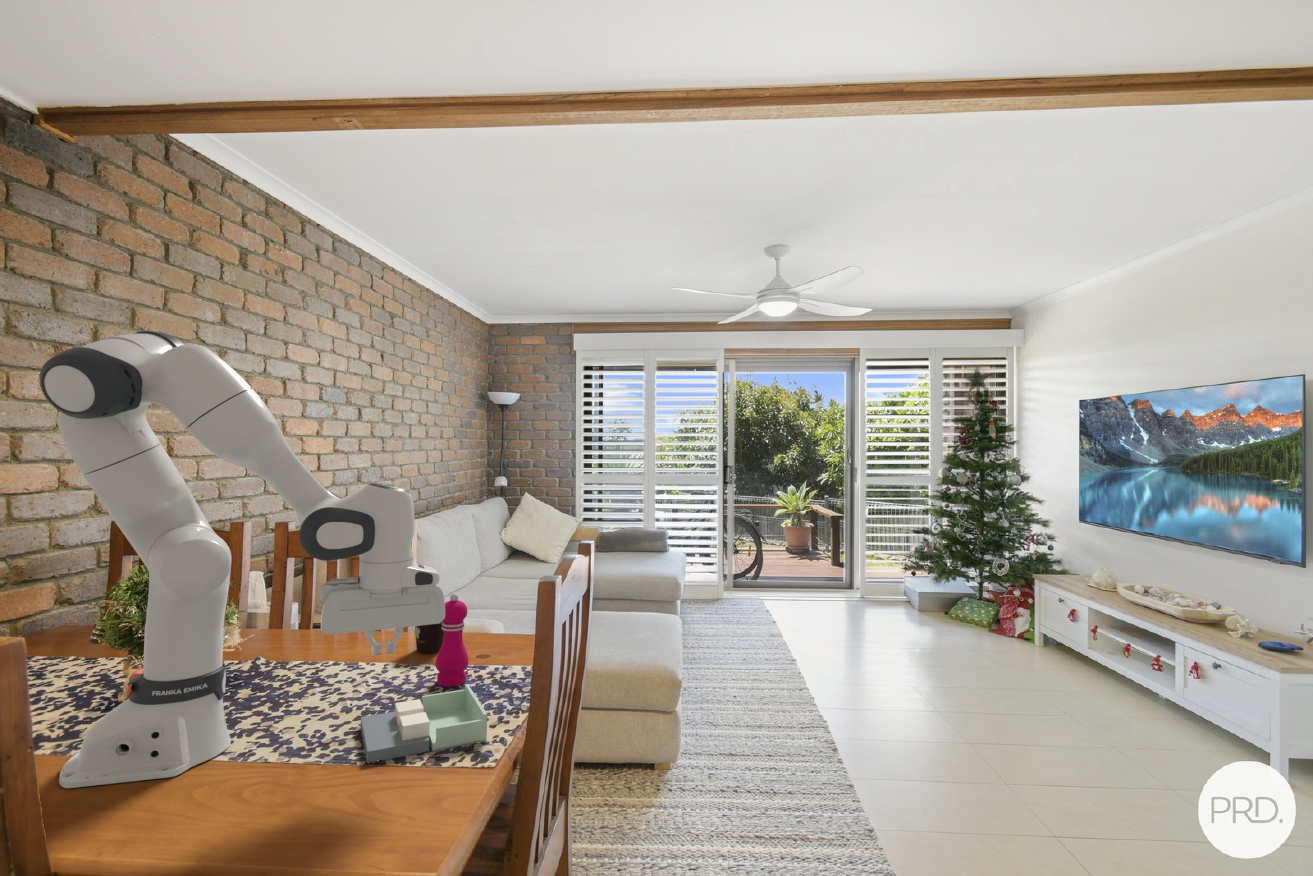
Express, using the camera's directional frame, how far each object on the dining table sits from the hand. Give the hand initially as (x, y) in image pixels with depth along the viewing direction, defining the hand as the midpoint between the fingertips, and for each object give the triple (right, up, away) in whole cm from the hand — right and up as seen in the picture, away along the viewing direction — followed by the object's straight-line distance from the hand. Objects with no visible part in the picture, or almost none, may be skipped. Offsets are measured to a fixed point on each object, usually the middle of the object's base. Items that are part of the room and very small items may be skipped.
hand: (383, 653), depth 114 cm
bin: (+9, -17, +9) cm, 22 cm away
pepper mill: (+2, -18, +32) cm, 37 cm away
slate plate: (0, -17, +4) cm, 18 cm away
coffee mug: (-10, -17, +52) cm, 56 cm away
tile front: (+4, -15, +3) cm, 16 cm away
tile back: (+1, -15, +8) cm, 17 cm away
